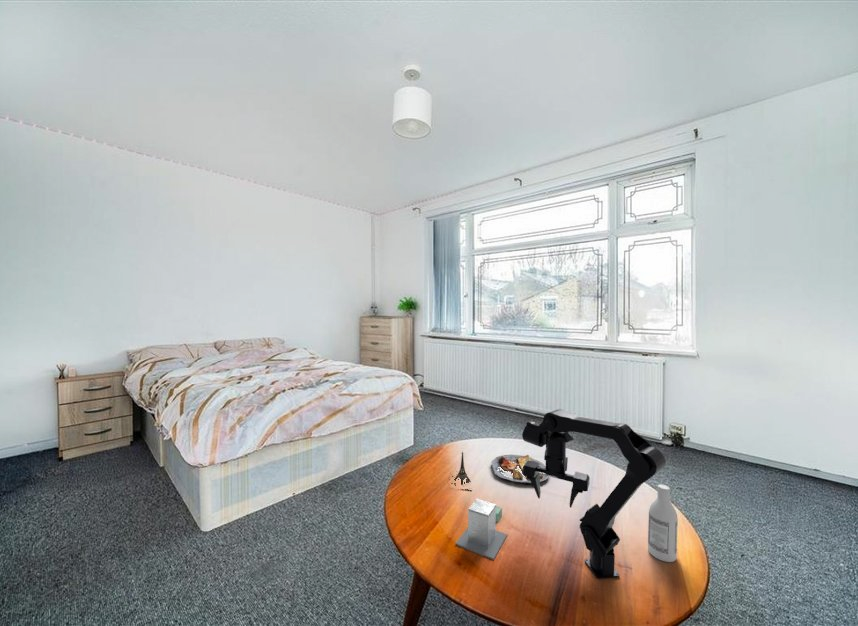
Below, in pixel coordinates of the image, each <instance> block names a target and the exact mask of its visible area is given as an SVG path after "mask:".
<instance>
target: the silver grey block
mask: <svg viewBox="0 0 858 626" xmlns="http://www.w3.org/2000/svg"><path fill="white" fill-rule="evenodd" d="M496 506H497V504H495V503H492V502H489V501H486V500H482V499H480V498H475V500H474V501H473V502H472V503H471V505H469V507H468V509H467V512H468V513H467V515H468V516H467V527H468V541H469V542H472V543H474V544H477V545H480V546H482V547H485V548H487V549H488V548H489V546H490V544H491V543H492V541H493V539H494V538H495V530H496V523H497V522H496Z"/></svg>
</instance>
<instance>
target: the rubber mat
mask: <svg viewBox="0 0 858 626" xmlns="http://www.w3.org/2000/svg"><path fill="white" fill-rule="evenodd" d="M507 537H508V534H507V533H505V532H501V531H499V530H497V529H495V538H494V539H493V541H492V543H491V544H490V546H489V548H488V549H487V548H485V547H482V546H480V545H477V544H474V543H472V542H469V541H468V526H467V527H466V529H465V530H464V532H463V533H462V534H461V535H460V537H459V538H458V539H457V540H456V542H455V545H456V546H458V547H461V548H463V549H464V550H465V549H466V550H468V551H471V552H472V553H475V554H478V555H480V556H482V557H486V558H487V559H490V560H493V561H494V560H495V559H496V557H497V555H498V554H499V552H500V550H501V548H502V546H503V544H504V542H505V541H506V539H507Z"/></svg>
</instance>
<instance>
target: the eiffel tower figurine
mask: <svg viewBox="0 0 858 626" xmlns="http://www.w3.org/2000/svg"><path fill="white" fill-rule="evenodd" d="M457 473H458V474H456V475H455V477H454V478H455V479H454V480H455V481H456V479H457V478H460V479H461V485H463V480H464V479H465V478H467V479H466V483H468V484H470V483H472V482H471V481H472V480H471V479H470V478H469V477H468V474H467V473H466V468H465V462H464V451H463V450H462V452H461V461H460V468H459V471H458V472H457ZM458 480H459V479H458ZM469 482H470V483H469ZM451 484H453V483H451ZM464 484H465V482H464ZM454 485H455V486H456V483H454ZM465 485H466V484H465ZM463 486H464V485H463ZM469 491H470V490H469ZM471 491H473V489H472V490H471Z"/></svg>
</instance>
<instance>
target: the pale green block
mask: <svg viewBox="0 0 858 626" xmlns="http://www.w3.org/2000/svg"><path fill="white" fill-rule="evenodd" d="M502 516H503V508H502V507H499V506H497V505H496V523H499V521H500V520H501V518H502Z"/></svg>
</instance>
